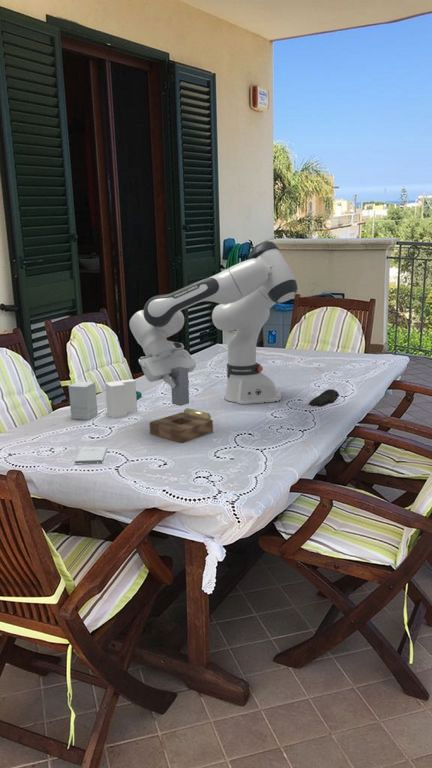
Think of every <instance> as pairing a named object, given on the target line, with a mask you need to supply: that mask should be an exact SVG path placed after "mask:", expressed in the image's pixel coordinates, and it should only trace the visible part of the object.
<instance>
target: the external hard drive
mask: <svg viewBox="0 0 432 768" xmlns="http://www.w3.org/2000/svg"><path fill="white" fill-rule="evenodd" d="M106 451H108V447H107V446H102V445H101V446H83V447H80V449H79V452H78V454H77V456H76V458H75V460H74V464H75V463H97V462H98V463H100V464H103V463H104V460H105V458H104V457H106V455H105V454H107V452H106ZM102 462H103V463H102Z"/></svg>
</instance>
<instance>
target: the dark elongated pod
mask: <svg viewBox="0 0 432 768" xmlns="http://www.w3.org/2000/svg"><path fill="white" fill-rule="evenodd" d="M339 396H340V393H339V392H338V391H337V390H336V389H334V388H332V389H330V388H329V389H325V390H324V391H323V392H321V393H320V394H319V395H318V396H316V397H314V398H312V399H311V400H310V401H309V403H308V406H309V405H311V406H310V407H317V406H318V407H317V408H319V407H324V406H325V405H327V404H329V403H330V404H334V403H335V400H336V399H337V400H338V398H339ZM337 400H336V401H337Z"/></svg>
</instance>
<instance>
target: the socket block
mask: <svg viewBox="0 0 432 768" xmlns="http://www.w3.org/2000/svg"><path fill="white" fill-rule="evenodd" d="M183 412H184V411H183ZM183 412H178V413H175V414H172V415H169V416H165V417H163V418H160V419H156V420H153V421H149V434H150V435H153V436H157V437H160V438H163V439H167V440H171V441H172V442H173V441H174V442H177V443H180V444H182V443H184V442H187V441H190V440H193V439H197V438H199V437H201V436H204V435H207V434H210V433H213V431H214V423H213V419H211V420H210V419H206V418H202V417H198V416H194V415H191V414H187V413H183Z"/></svg>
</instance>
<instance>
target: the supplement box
mask: <svg viewBox="0 0 432 768" xmlns="http://www.w3.org/2000/svg"><path fill="white" fill-rule="evenodd" d="M68 395H69V405H70V406H69V407H70V417H71V419H72V420H83V421H84V420H85V421H89V420H91V419H93V418H95V417H96V416H98V415H99V413H98V401H97V389H96V382H95V381H76V382H73V383H72V384H70V385H68Z"/></svg>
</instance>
